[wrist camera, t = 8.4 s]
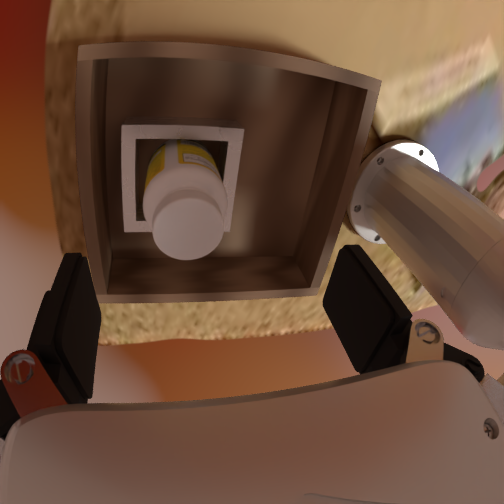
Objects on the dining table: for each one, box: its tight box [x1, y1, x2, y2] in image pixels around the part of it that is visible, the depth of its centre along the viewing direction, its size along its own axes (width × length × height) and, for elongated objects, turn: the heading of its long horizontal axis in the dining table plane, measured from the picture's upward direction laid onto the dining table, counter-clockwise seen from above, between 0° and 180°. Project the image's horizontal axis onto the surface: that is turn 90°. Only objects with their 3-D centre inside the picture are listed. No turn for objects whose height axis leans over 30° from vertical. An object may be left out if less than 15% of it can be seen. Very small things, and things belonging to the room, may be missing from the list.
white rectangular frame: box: [121, 116, 244, 232], centre depth 23 cm, size 8×8×3 cm
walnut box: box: [75, 42, 382, 303], centre depth 24 cm, size 20×20×6 cm
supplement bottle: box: [143, 139, 228, 260], centre depth 21 cm, size 5×5×10 cm
